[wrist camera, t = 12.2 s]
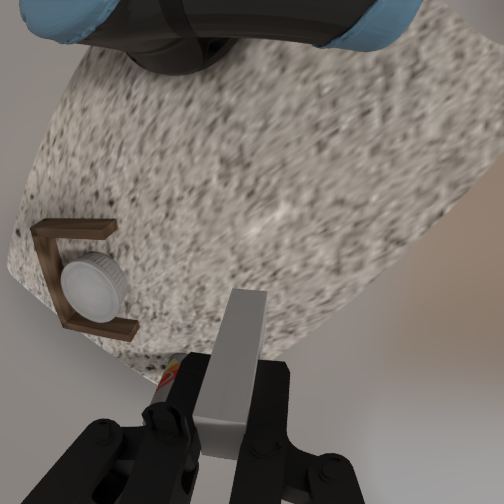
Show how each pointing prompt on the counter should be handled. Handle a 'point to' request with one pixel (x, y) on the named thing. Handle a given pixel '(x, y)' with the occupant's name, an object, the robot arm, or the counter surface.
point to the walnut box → (53, 269)
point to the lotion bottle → (167, 379)
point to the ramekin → (94, 286)
